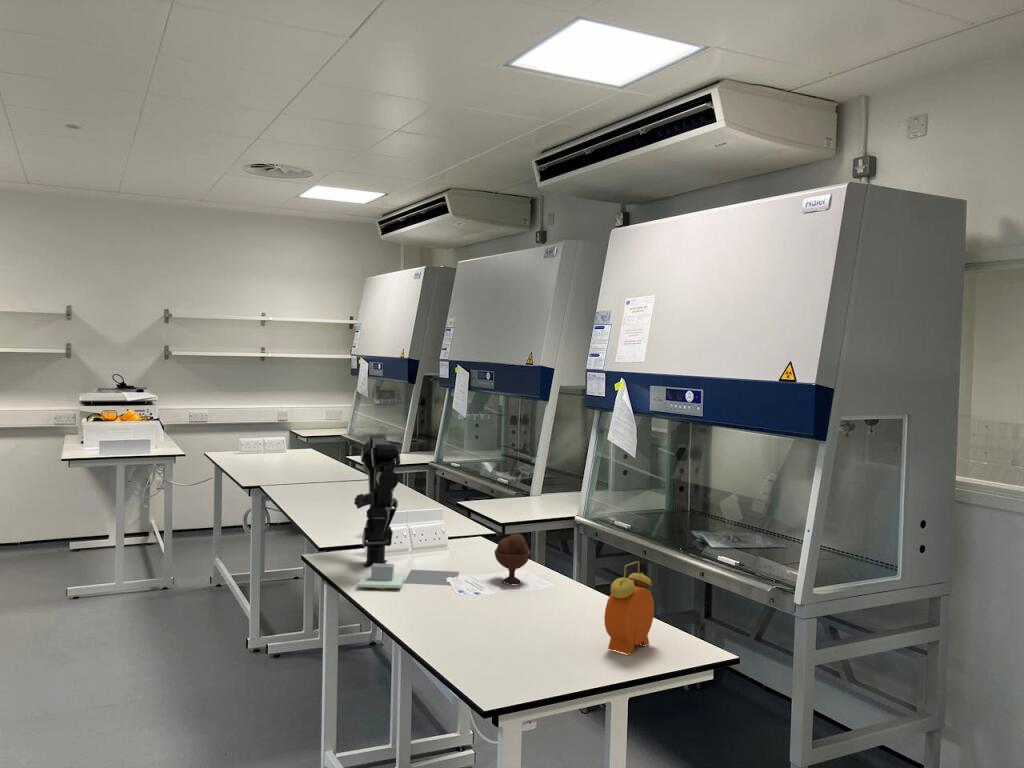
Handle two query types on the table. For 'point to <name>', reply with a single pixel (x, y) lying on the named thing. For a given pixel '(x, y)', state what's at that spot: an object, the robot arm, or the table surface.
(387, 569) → the cover
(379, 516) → the robot arm
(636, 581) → the alarm clock
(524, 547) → the ice cream bowl
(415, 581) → the mat
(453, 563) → the table surface
